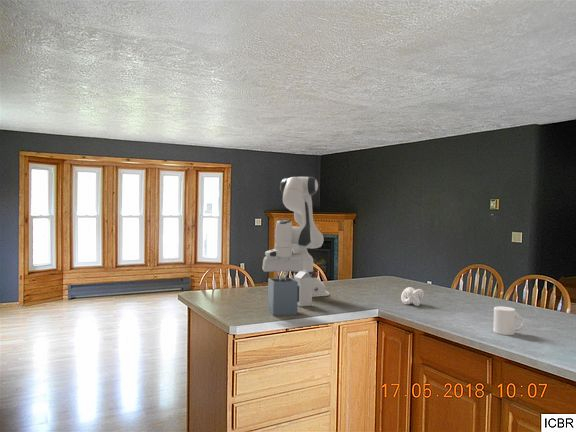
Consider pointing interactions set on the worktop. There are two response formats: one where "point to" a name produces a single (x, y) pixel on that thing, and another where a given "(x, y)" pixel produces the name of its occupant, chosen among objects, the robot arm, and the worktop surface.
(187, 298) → the worktop surface
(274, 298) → the dark grey upright box
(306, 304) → the milk carton
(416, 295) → the white knot
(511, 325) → the mug
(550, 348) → the worktop surface
